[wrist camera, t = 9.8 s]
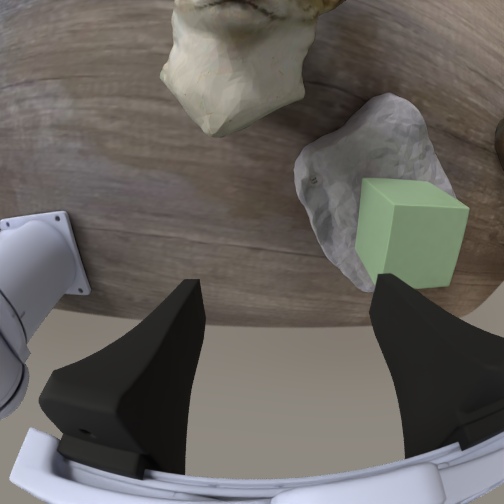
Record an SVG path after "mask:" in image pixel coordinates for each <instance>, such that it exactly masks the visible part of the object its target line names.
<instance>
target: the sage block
mask: <svg viewBox="0 0 504 504" xmlns="http://www.w3.org/2000/svg"><path fill="white" fill-rule="evenodd" d="M469 211H470V208H469V207H467V206H466V205H464V204H463V203H461V202H460V201H458V200H457V199H455V198H454V197H452V196H451V195H449V194H447V193H446V192H444V191H443V190H441V189H439V188H438V187H436V186H435V185H433V184H431V183H430V182H427V181H415V180H401V179H386V178H366V177H363V178H362V186H361V198H360V208H359V218H358V227H357V235H356V243H355V250H356V252H357V254H358V256H359V257H360V259H361V261H362V263H363V264H364V266H365V268H366V270H367V272H368V274H369V275H370V277H371V279H372V281H373V283H374V285H376V280H377V275H378V274H383V273H392V274H393V275H395V276H397V277H398V278H400V279H401V280H402V281H404V282H405V283H407V284H408V285H409V286H411V287H412V288H414V289H422V288H434V287H445V286H449V284H450V281H451V278H452V275H453V272H454V269H455V265H456V262H457V259H458V255H459V252H460V248H461V244H462V240H463V237H464V233H465V228H466V224H467V220H468V215H469Z"/></svg>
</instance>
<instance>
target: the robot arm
mask: <svg viewBox="0 0 504 504" xmlns="http://www.w3.org/2000/svg"><path fill="white" fill-rule="evenodd" d="M58 216H59V217H60V219H59V218H58ZM0 228H1V232H0V420H1V419H3V418H6V417H8V416H9V415H10V414H12V413H13V412H14V411H15V410H16V409H17V408H18V407H19V405H20V404H21V402H22V401H23V399H24V396H25V394H26V391H27V387H28V383H29V371H28V368H27V366H26V364H25V361H26V360H27V359H28V357H29V355H30V354H31V353H30V351H29V349H28V348H27V343H28V342H29V340H30V339H31V337H32V336H33V335H34V333H35V332H36V330H37V329H38V328H39V326H40V325H41V323H42V322H43V321H44V319H45V318H46V317H47V315H48V314H49V313H50V311H51V310H52V309H53V307H54V306H55V305H56V304H57V302H58V301H59V300H60V298H61V297H62V296H63V295H64V294H76V295H89V294H90V292H91V288H90V285H89V282H88V279H87V277H86V274H85V271H84V268H83V264H82V261H81V258H80V255H79V252H78V248H77V245H76V242H75V238H74V234H73V231H72V227H71V223H70V219H69V216H68V214H67V212H65V211H57V212H49V213H42V214H34V215H27V216H20V217H14V218H7V219H2V220H1V221H0ZM81 289H82V290H81ZM369 314H370V318H371V322H372V326H373V330H374V333H375V336H376V338H377V341H378V343H379V346H380V348H381V350H382V353H383V355H384V358H385V360H386V363H387V365H388V368H389V370H390V373H391V376H392V379H393V382H394V386H395V390H396V394H397V398H398V403H399V408H400V414H401V420H402V427H403V436H404V447H405V448H404V449H405V459H404V460H400V461H396V462H393V463H388V464H384V465H380V466H376V467H371V468H366V469H361V470H355V471H349V472H343V473H336V474H329V475H320V476H311V477H301V478H285V479H224V478H208V477H197V476H187V475H185V455H186V436H187V424H188V413H189V404H190V395H191V389H192V384H193V380H194V376H195V372H196V368H197V364H198V360H199V356H200V351H201V347H202V344H203V339H204V331H205V322H206V317H205V311H204V305H203V299H202V292H201V286H200V279H184V280H183V281H182V282H181V283H180V284H179V285H178V286H177V288H176V289H175V290H174V291H173V292H172V293H171V294H170V295H169V296H168V297H167V298H166V299H165V300H164V301H163V302H162V303H161V304H160V305H159V306H158V307H157V308H156V309H155V310H154V311H153V312H152V313H151V314H149V315H148V316H147V317H146V318H145V319H144V320H143V321H142V322H141V323H139V324H138V325H137V326H136V327H134V328H133V329H132V330H131V331H129V332H128V333H126V334H125V335H124V336H122V337H121V338H119V339H118V340H116V341H115V342H113V343H112V344H110V345H108V346H107V347H105V348H103V349H102V350H100V351H98V352H96V353H94V354H92V355H90V356H88V357H86V358H84V359H82V360H80V361H78V362H75V363H73V364H70V365H68V366H65V367H62V368H60V369H57V370H54V371H53V372H52V374H51V376H50V378H49V380H48V382H47V383H46V385H45V387H44V389H43V391H42V393H41V395H40V397H39V404H40V407H41V409H42V410H43V412H44V413H45V414H46V416H47V417H48V418H49V419H50V420H51V421H52V422H53V423H54V424H55V425H56V427H57V428H58V429H59V430H60V431H61V432H62V433H63V436H62V438H61V440H59V439H58V438H56V437H54V436H52V435H50V434H47V433H45V432H42V431H40V430H37V429H35V428H30V429H29V431H28V433H27V436H26V438H25V440H24V443H23V445H22V448H21V450H20V452H19V455H18V457H17V459H16V462H15V465H14V467H13V470H12V472H11V475H10V478H9V479H10V481H11V482H13V483H14V484H15V485H17V486H19V487H20V488H22V489H23V490H25V491H26V492H28V493H30V494H31V495H33V496H35V497H37V498H38V499H40V500H42V501H43V502H46V503H47V504H468V503H470V502H471V501H473V500H475V499H477V498H479V497H480V496H483V495H484V494H486V493H488V492H490V491H491V490H493V489H495V488H496V487H498V486H500V485H501V484H503V483H504V338H503V337H500V336H497V335H494V334H491V333H489V332H486V331H484V330H482V329H479V328H477V327H475V326H472V325H470V324H468V323H467V322H465V321H463V320H461V319H459V318H457V317H455V316H454V315H452V314H450V313H449V312H447V311H445V310H444V309H442V308H441V307H439V306H438V305H436V304H435V303H433V302H432V301H430V300H429V299H427V298H426V297H425V296H423V295H422V294H420V293H419V292H418V291H416V290H415V289H414V288H412V287H411V286H409V285H408V284H407V283H405V282H404V281H402V280H401V279H400V278H398V277H397V276H395V275H393V274H392V273H383V274H378V275H377V280H376V285H375V290H374V294H373V298H372V303H371V307H370V311H369Z"/></svg>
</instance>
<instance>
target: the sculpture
mask: <svg viewBox="0 0 504 504" xmlns="http://www.w3.org/2000/svg"><path fill="white" fill-rule="evenodd" d="M495 149H496V151H497V154H498V156H499V159H500V162H501V165H502V168H503V170H504V119H502V120H501V121H500V123H499V124H498V127H497V129H496V135H495Z"/></svg>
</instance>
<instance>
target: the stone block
mask: <svg viewBox="0 0 504 504" xmlns="http://www.w3.org/2000/svg"><path fill="white" fill-rule="evenodd" d="M294 177H295V181H294V182H295V186H296V191H297V195H298V198H299V199H300V201H301V203H302V204H303V205H304V206H305V209H306V211H307V214H308V216H309V218H310V223H311V227H312V229H313V230H314V232H315V234H316V237H317V240H318V242H319V244H320V245H321V247H322V250H323V252H324V253H325V255H326V257H327V258H328V259H329V260H330V261H331V262H332V263H333V264H334V265H335V266H336V267H337V268H339V269H340V270H341V272H342V273H343V274H344V275H345V276H346V277H348V278H349V279H350V280H351V281H352V282H353V283H354V285H355V286H356V287H357V288H359V289H360V290H361V291H363V292H371V291H372V292H374V290H375V285H374V283H373V281H372V279H371V277H370V275H369V274H368V272H367V270H366V268H365V266H364V264H363V263H362V261H361V259H360V257H359V256H358V254H357V252H356V250H355V243H356V235H357V227H358V218H359V208H360V198H361V186H362V178H363V177H366V178H386V179H401V180H415V181H427V182H430V183H431V184H433V185H435V186H436V187H438V188H439V189H441V190H443V191H444V192H446V193H447V194H449V195H451V196H452V197H454V198H455V199H457V198H456V195H455V193H454V191H453V188H452V186H451V184H450V182H449V180H448V178H447V176H446V174H445V172H444V170H443V168H442V167H441V165H440V162H439V160H438V158H437V156H436V154H435V151H434V148H433V145H432V143H431V141H430V139H429V136H428V131H427V127H426V123H425V121H424V119H423V117H422V115H421V113H420V112H419V110H418V109H417V108H416V107H415V106H414V105H413V104H412V103H410V102H409V101H407V100H406V99H403V98H401V97H398V96H396V95H394V94H392V93H386V94H382V95H379V96H375V97H372V98H371V99H370V100H369V101H367V102H366V103H365V104H364V105H363V107H362V108H360V109H359V110H358V111H357V112H356V113H354V114H353V115H352V116H351V117H350V118H349V120H348V121H347V122H346V123H345V124H344V125H343V126H342V127H341V128H339V129H338V130H336V131H334V132H332V133H329V134H326V135H324V136H322V137H320V138H319V139H317V140H316V141H314V142H313V143H310V144H308V145H307V146H305V147H304V148H303V149H302V152H301V153H300V155H299V156H298V158H297V159H296V161H295V166H294Z"/></svg>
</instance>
